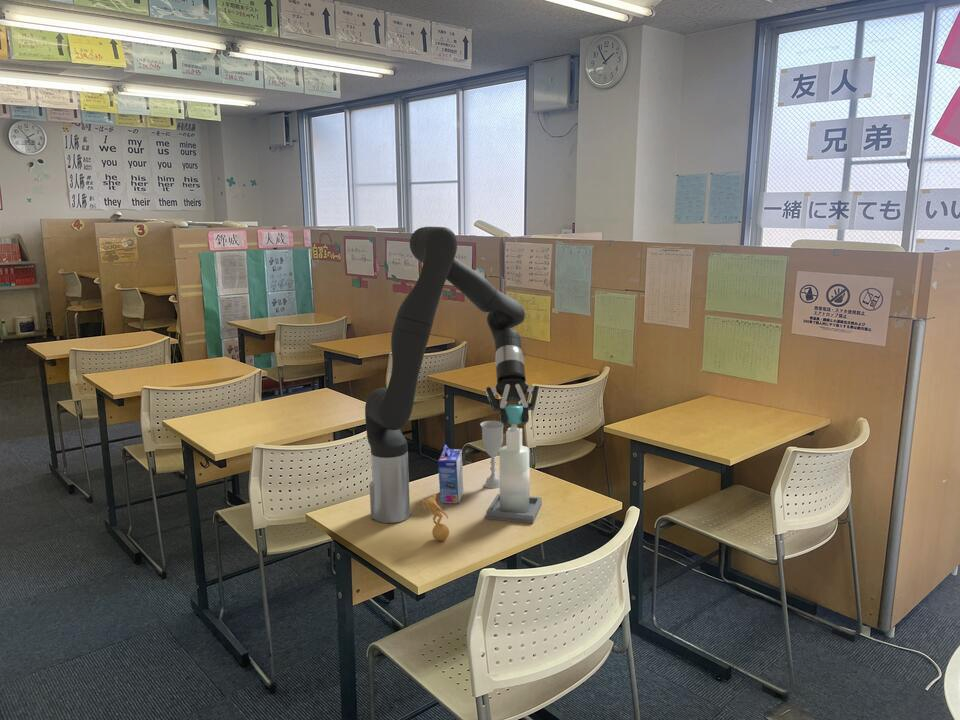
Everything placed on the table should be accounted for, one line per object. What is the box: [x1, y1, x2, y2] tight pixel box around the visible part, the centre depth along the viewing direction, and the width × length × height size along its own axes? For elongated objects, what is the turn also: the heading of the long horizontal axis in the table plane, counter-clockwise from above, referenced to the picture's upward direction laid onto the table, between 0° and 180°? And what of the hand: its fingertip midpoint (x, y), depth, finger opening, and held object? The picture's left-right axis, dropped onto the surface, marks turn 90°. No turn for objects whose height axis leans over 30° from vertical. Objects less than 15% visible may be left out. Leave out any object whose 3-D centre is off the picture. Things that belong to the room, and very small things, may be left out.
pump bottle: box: [485, 427, 543, 524], centre depth 179 cm, size 12×12×22 cm
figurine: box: [421, 493, 450, 542], centre depth 163 cm, size 8×6×12 cm
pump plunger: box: [505, 403, 523, 432], centre depth 176 cm, size 4×4×10 cm
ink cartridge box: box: [437, 444, 464, 504], centre depth 190 cm, size 10×6×14 cm, turn 174°
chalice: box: [479, 420, 505, 489], centre depth 198 cm, size 7×7×18 cm
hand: (515, 423), depth 174 cm, fingers closed on pump plunger, 4 cm apart
